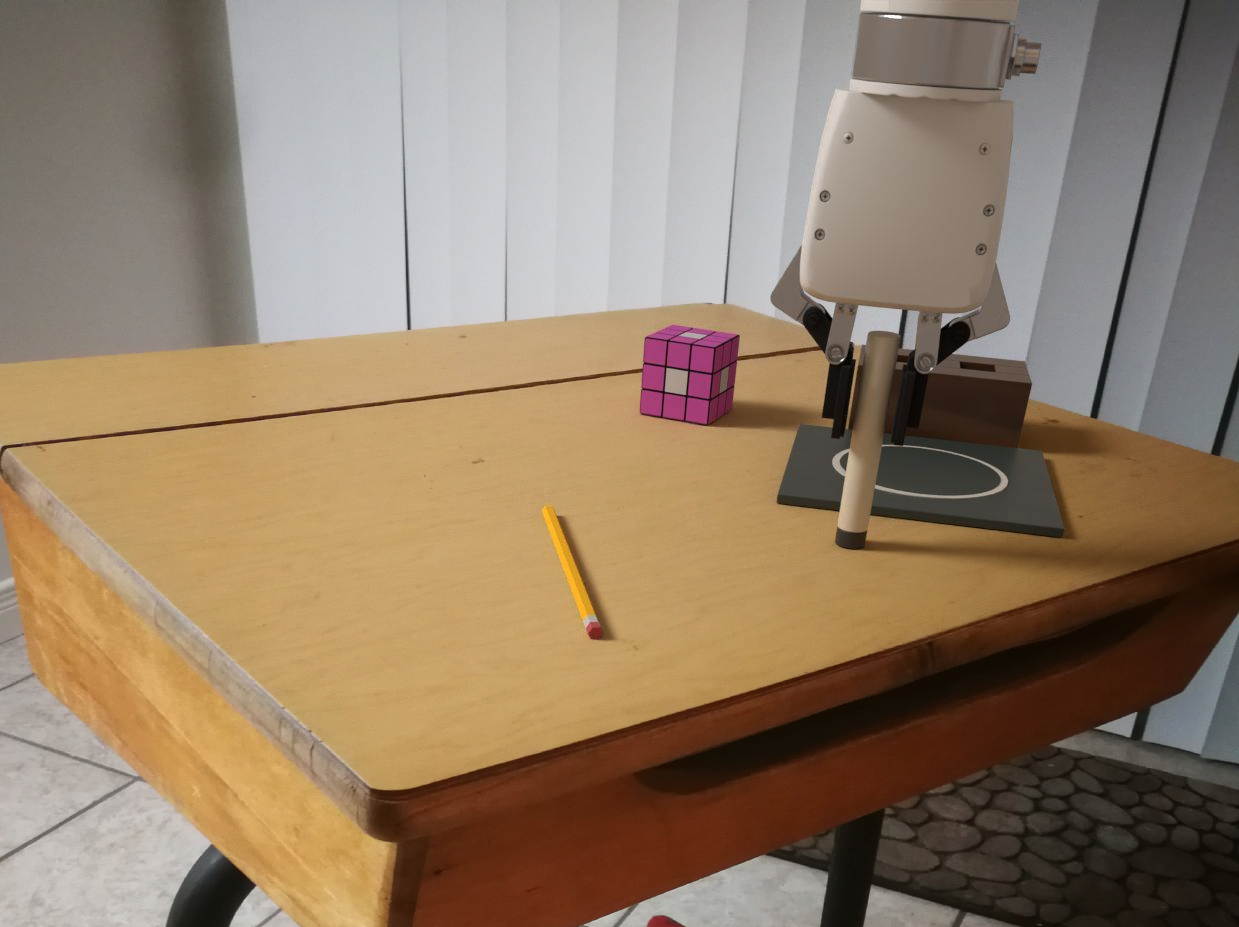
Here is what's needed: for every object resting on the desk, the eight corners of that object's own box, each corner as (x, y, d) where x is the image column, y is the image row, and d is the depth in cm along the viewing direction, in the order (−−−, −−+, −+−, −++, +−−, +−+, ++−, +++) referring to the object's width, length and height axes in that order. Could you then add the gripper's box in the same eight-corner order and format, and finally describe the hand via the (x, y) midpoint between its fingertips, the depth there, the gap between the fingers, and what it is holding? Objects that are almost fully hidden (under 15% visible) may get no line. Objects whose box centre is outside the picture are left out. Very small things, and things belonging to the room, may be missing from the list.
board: (1040, 458, 95) (1042, 448, 95) (1062, 537, 80) (1065, 526, 80) (798, 431, 98) (799, 421, 97) (776, 503, 83) (777, 492, 82)
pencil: (587, 640, 63) (588, 627, 63) (541, 516, 78) (541, 505, 78) (603, 640, 64) (604, 627, 63) (554, 516, 79) (554, 505, 78)
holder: (851, 408, 105) (861, 344, 102) (1010, 425, 103) (1025, 361, 100) (847, 432, 98) (857, 364, 96) (1016, 451, 96) (1032, 383, 94)
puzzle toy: (665, 398, 104) (671, 324, 101) (732, 409, 102) (740, 334, 99) (638, 413, 99) (644, 336, 96) (707, 425, 98) (715, 347, 94)
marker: (865, 540, 78) (901, 332, 71) (864, 550, 76) (900, 338, 70) (835, 537, 78) (868, 328, 72) (833, 546, 77) (867, 335, 70)
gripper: (1089, 72, 66) (1008, 435, 76) (773, 50, 68) (735, 405, 78) (1107, 77, 59) (1016, 471, 69) (758, 51, 62) (718, 437, 72)
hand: (868, 433), depth 74 cm, fingers closed
